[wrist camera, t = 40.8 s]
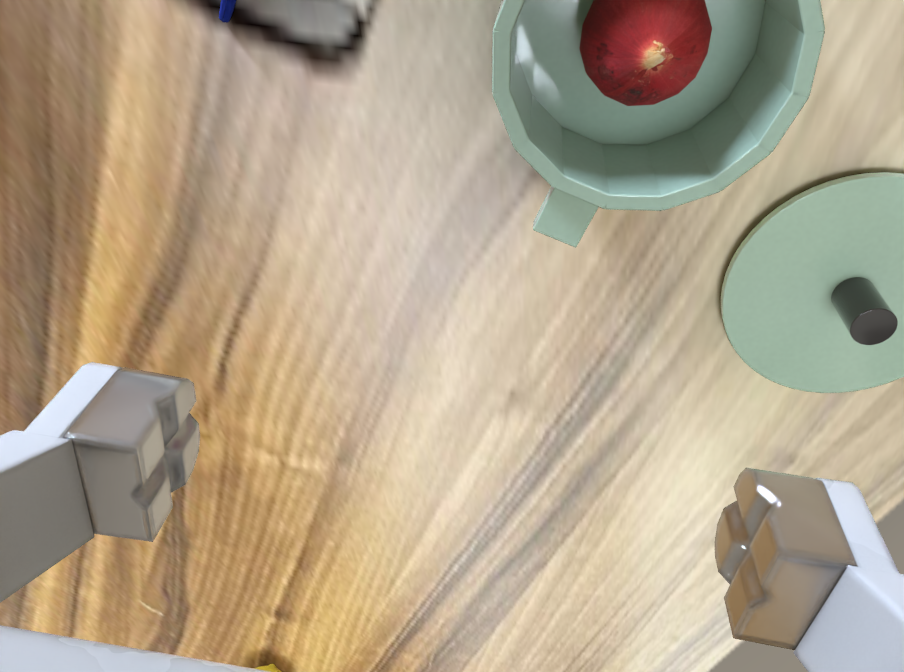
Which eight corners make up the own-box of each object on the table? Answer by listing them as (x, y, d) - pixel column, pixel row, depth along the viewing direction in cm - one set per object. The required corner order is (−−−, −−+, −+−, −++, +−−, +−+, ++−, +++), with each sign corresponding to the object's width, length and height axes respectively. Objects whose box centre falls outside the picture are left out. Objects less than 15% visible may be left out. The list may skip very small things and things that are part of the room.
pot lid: (673, 333, 48) (684, 377, 44) (816, 126, 40) (844, 158, 36) (870, 411, 50) (897, 460, 46) (1045, 228, 42) (1095, 269, 38)
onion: (658, 99, 40) (679, 152, 33) (558, 55, 39) (560, 102, 32) (719, -13, 37) (756, 22, 30) (611, -62, 36) (624, -37, 29)
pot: (445, 140, 43) (427, 193, 37) (602, -256, 32) (614, -276, 26) (659, 230, 44) (676, 295, 38) (875, -120, 34) (947, -108, 28)
